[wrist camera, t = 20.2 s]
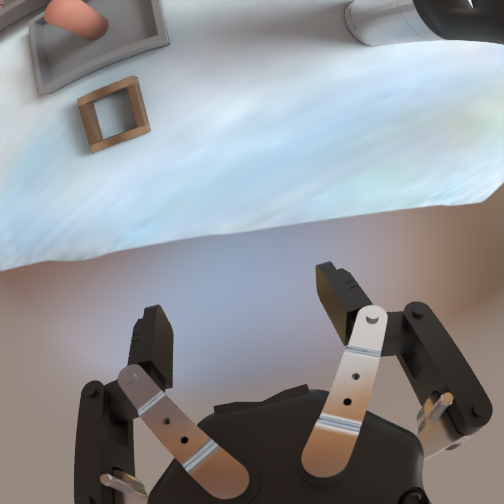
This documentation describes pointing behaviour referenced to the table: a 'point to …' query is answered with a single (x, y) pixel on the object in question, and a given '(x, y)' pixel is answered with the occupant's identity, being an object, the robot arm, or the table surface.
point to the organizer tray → (18, 10)
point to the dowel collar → (92, 121)
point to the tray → (95, 41)
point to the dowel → (76, 18)
